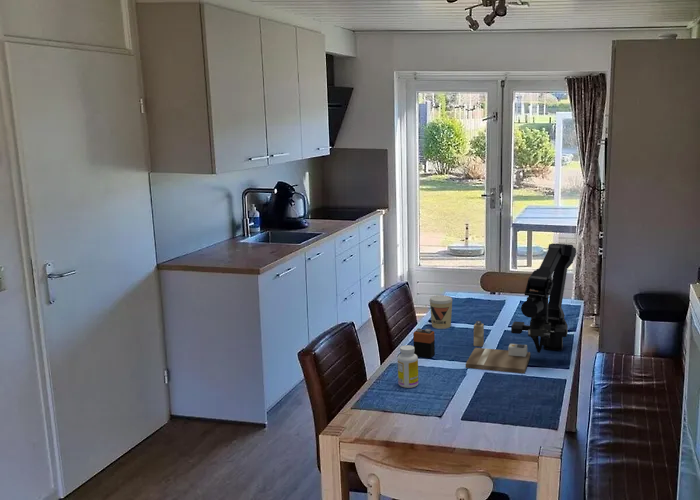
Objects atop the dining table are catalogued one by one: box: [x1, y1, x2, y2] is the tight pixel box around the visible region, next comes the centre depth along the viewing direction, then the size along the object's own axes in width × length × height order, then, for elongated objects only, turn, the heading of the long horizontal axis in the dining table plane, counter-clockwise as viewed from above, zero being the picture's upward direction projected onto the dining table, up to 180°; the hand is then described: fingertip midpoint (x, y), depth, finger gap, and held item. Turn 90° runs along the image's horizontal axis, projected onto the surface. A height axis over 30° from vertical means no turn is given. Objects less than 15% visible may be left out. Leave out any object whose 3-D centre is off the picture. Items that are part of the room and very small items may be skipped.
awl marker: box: [473, 320, 485, 348], centre depth 266 cm, size 3×3×9 cm
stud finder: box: [508, 343, 528, 357], centre depth 250 cm, size 6×4×3 cm, turn 69°
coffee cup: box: [429, 294, 453, 330], centre depth 289 cm, size 9×9×12 cm
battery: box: [412, 327, 436, 359], centre depth 257 cm, size 4×7×10 cm, turn 61°
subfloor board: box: [465, 347, 532, 374], centre depth 248 cm, size 20×17×2 cm
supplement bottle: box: [397, 344, 419, 389], centre depth 230 cm, size 7×7×13 cm
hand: (538, 352), depth 248 cm, fingers closed
